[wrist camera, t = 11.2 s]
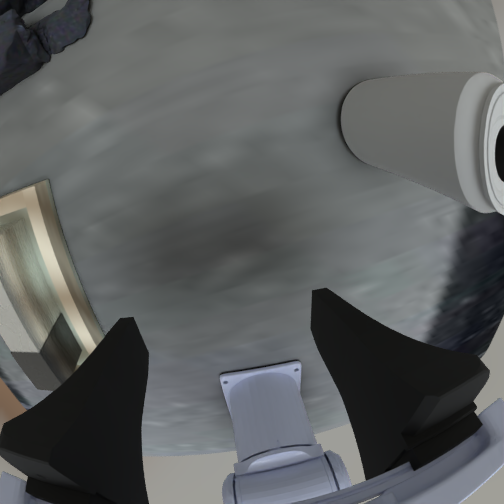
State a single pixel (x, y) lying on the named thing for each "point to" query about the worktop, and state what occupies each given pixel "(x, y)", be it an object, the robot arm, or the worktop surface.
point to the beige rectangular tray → (54, 260)
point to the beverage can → (433, 132)
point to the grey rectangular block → (32, 313)
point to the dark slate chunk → (35, 37)
